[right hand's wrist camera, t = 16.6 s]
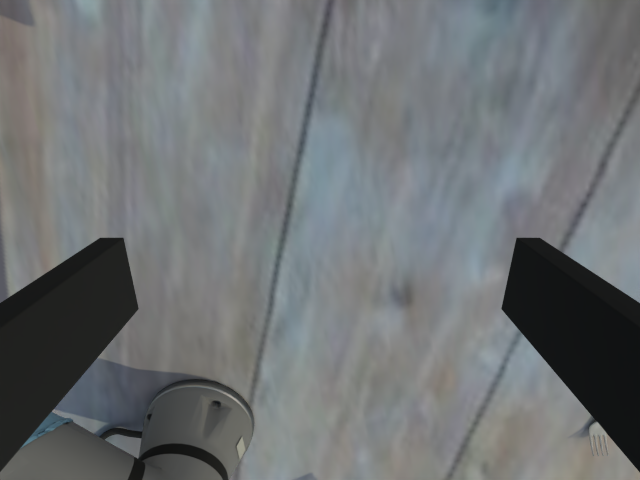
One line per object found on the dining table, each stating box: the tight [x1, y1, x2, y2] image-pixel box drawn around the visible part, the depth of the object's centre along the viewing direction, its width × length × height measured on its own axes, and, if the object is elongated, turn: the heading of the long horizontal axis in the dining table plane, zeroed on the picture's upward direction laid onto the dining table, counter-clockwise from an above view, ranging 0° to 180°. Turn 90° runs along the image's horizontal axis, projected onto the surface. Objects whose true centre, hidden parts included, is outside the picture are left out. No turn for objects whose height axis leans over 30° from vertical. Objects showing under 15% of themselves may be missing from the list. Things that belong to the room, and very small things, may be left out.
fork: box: [589, 421, 609, 456], centre depth 51 cm, size 3×16×2 cm, turn 2°
